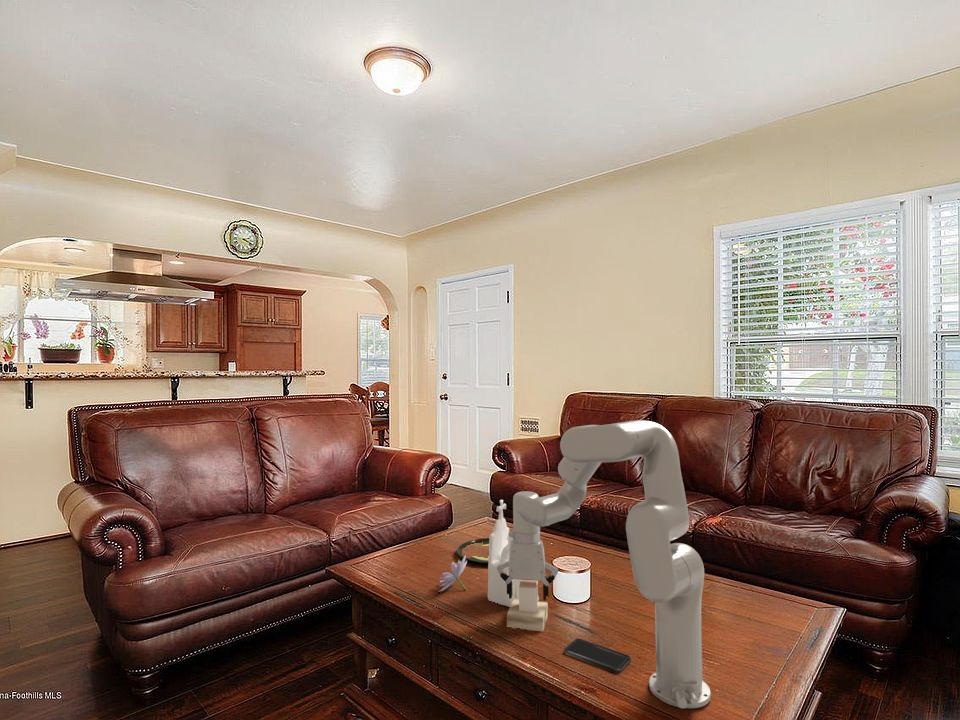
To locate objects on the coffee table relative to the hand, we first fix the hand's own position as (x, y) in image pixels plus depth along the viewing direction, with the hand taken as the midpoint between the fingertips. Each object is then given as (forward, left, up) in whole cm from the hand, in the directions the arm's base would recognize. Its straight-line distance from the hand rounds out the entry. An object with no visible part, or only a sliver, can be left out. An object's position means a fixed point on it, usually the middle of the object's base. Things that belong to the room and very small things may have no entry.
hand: (527, 597), depth 148 cm
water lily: (+19, +26, -7) cm, 33 cm away
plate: (+52, +17, -7) cm, 55 cm away
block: (0, 0, -7) cm, 7 cm away
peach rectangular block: (0, 0, -3) cm, 3 cm away
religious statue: (+15, +4, -7) cm, 17 cm away
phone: (-16, -18, -7) cm, 25 cm away
